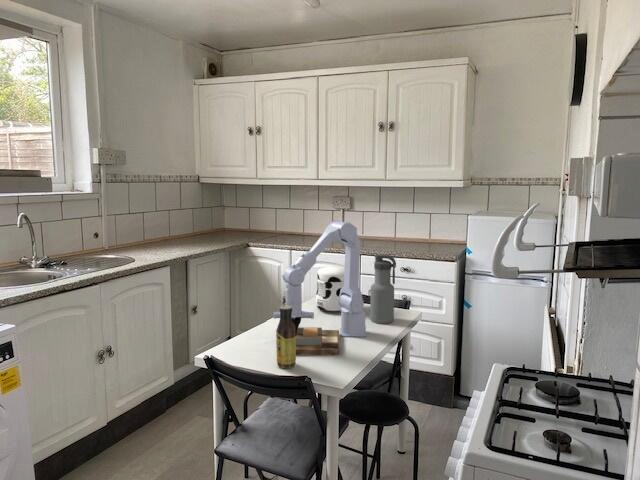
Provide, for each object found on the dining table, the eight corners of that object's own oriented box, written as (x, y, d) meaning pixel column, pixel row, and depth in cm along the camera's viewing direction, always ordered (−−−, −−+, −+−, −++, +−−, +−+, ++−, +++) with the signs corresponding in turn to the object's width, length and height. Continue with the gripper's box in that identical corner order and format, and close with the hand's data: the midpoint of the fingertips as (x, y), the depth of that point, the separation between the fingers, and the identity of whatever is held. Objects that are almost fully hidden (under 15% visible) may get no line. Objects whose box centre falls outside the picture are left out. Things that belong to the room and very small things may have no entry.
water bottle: (394, 317, 206) (395, 253, 201) (395, 324, 196) (396, 257, 192) (370, 316, 207) (370, 252, 202) (370, 324, 197) (371, 257, 193)
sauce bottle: (276, 362, 159) (275, 303, 156) (295, 361, 159) (295, 303, 156) (276, 370, 152) (275, 309, 149) (296, 369, 153) (295, 309, 150)
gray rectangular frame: (321, 333, 180) (321, 327, 179) (321, 345, 168) (321, 338, 168) (285, 333, 180) (284, 327, 180) (281, 344, 169) (281, 338, 168)
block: (317, 336, 176) (317, 327, 176) (317, 341, 172) (317, 332, 171) (303, 336, 177) (303, 327, 176) (303, 341, 172) (303, 332, 171)
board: (338, 335, 184) (338, 330, 184) (339, 355, 164) (339, 349, 164) (285, 334, 184) (285, 329, 184) (280, 354, 165) (280, 349, 164)
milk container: (356, 305, 224) (356, 267, 221) (350, 316, 207) (350, 275, 205) (320, 303, 228) (320, 265, 225) (311, 313, 211) (311, 273, 209)
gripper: (272, 304, 168) (272, 341, 170) (313, 304, 168) (313, 341, 170) (274, 298, 175) (275, 334, 177) (314, 298, 175) (314, 334, 177)
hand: (294, 337), depth 174 cm, fingers closed
